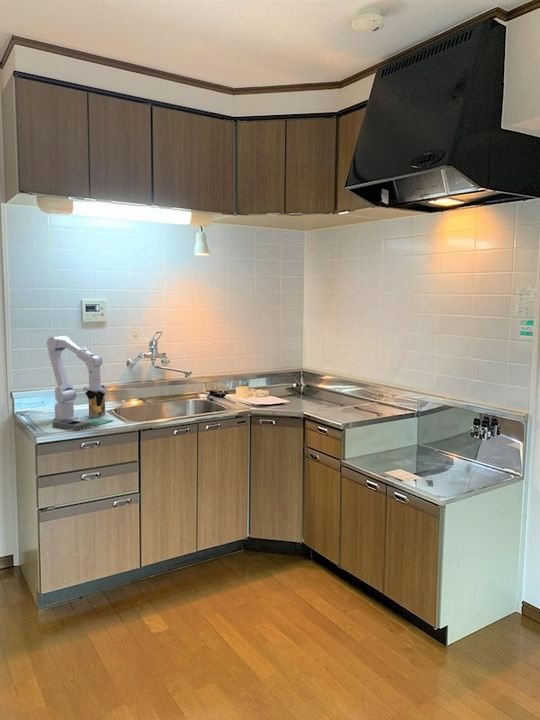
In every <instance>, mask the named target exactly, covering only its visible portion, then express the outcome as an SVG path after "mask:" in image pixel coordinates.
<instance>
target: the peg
mask: <svg viewBox="0 0 540 720" xmlns="http://www.w3.org/2000/svg"><path fill="white" fill-rule="evenodd" d="M89 404H90V413H99V412H101V406H97V402H96V398H92V399H88V405H89Z"/></svg>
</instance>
